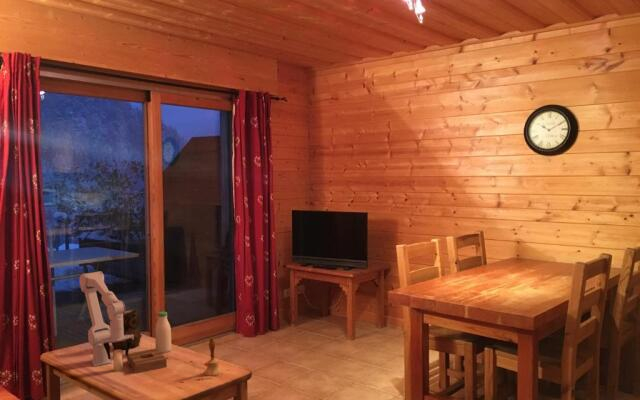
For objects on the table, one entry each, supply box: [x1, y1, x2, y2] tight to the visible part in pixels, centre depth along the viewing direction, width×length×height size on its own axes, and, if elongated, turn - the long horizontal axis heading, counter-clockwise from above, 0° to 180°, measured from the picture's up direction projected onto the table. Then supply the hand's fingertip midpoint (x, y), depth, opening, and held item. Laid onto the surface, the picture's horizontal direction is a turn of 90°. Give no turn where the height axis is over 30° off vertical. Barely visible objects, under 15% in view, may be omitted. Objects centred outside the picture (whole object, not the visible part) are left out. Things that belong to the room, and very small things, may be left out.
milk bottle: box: [154, 311, 172, 354], centre depth 269 cm, size 8×8×20 cm
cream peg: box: [112, 349, 124, 372], centre depth 244 cm, size 4×4×9 cm
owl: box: [111, 308, 142, 352], centre depth 275 cm, size 13×13×20 cm
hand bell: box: [203, 337, 223, 377], centre depth 238 cm, size 8×8×16 cm
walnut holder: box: [127, 347, 168, 374], centre depth 250 cm, size 18×14×4 cm
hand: (117, 357), depth 243 cm, fingers open, 7 cm apart
